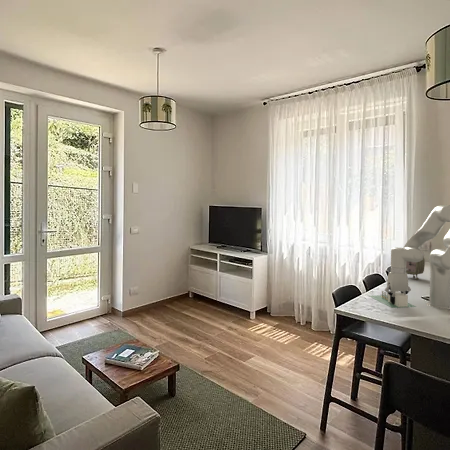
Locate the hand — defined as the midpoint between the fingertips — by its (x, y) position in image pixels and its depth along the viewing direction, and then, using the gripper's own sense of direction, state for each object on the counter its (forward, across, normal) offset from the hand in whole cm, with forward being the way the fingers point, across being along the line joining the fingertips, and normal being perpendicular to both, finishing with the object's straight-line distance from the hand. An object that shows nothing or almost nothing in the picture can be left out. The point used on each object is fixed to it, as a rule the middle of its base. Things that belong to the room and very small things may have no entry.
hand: (397, 302), depth 189 cm
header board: (+2, 0, -6) cm, 6 cm away
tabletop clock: (+2, -53, -63) cm, 82 cm away
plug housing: (+1, 0, 0) cm, 1 cm away
